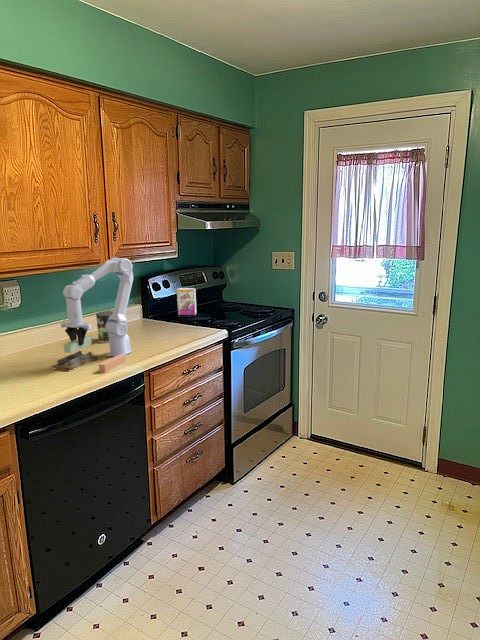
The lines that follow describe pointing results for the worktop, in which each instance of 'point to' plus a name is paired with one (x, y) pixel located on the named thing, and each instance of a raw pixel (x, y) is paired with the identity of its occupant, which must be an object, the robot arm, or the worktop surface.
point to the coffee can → (103, 325)
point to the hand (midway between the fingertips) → (78, 344)
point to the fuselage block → (77, 345)
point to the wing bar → (111, 363)
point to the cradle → (74, 360)
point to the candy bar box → (186, 301)
